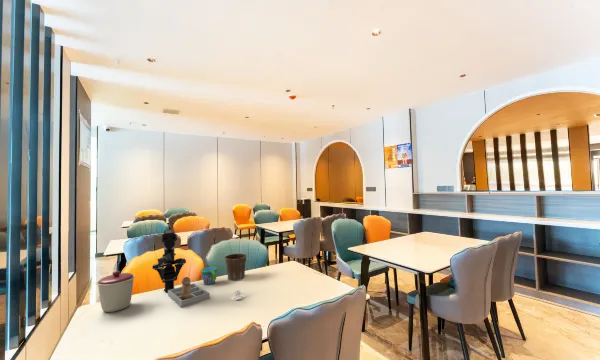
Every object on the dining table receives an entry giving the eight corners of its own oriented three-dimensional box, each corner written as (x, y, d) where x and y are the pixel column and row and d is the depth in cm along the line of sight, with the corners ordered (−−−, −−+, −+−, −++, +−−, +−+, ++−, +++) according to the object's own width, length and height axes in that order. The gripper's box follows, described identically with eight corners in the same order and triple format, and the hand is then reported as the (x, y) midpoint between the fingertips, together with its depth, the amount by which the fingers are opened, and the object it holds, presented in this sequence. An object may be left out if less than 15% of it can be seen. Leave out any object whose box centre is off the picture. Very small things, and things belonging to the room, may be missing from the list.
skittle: (179, 303, 150) (179, 278, 151) (185, 299, 155) (184, 275, 156) (187, 304, 149) (187, 278, 150) (193, 300, 154) (192, 275, 155)
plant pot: (252, 276, 196) (251, 254, 197) (236, 283, 183) (235, 260, 183) (236, 273, 205) (236, 252, 206) (220, 279, 191) (220, 257, 192)
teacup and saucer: (240, 302, 152) (240, 294, 152) (228, 301, 154) (228, 294, 154) (246, 296, 161) (246, 289, 161) (234, 295, 162) (234, 288, 162)
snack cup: (198, 282, 187) (197, 268, 187) (212, 278, 194) (212, 265, 194) (205, 288, 175) (205, 273, 175) (220, 284, 181) (220, 269, 182)
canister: (89, 318, 138) (89, 277, 138) (105, 304, 155) (105, 268, 156) (128, 312, 142) (128, 273, 143) (139, 299, 160) (139, 264, 161)
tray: (168, 295, 164) (168, 290, 164) (194, 288, 175) (194, 283, 175) (181, 307, 146) (181, 301, 146) (209, 298, 157) (209, 292, 158)
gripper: (146, 254, 155) (145, 282, 149) (175, 247, 154) (176, 275, 148) (158, 255, 165) (158, 281, 160) (186, 249, 164) (186, 275, 158)
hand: (169, 278), depth 156 cm, fingers open, 9 cm apart
